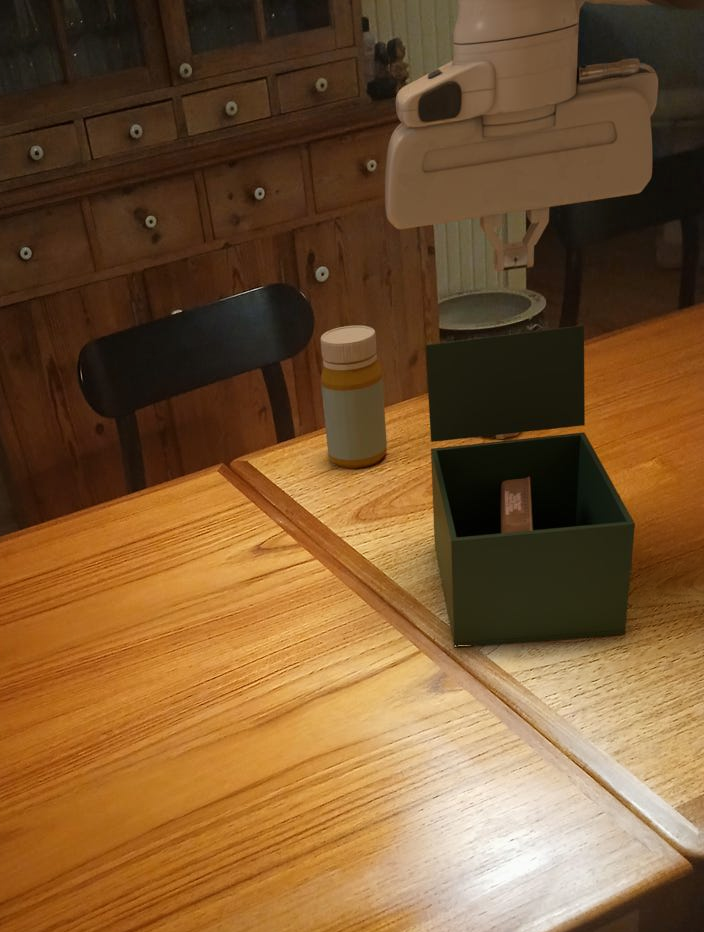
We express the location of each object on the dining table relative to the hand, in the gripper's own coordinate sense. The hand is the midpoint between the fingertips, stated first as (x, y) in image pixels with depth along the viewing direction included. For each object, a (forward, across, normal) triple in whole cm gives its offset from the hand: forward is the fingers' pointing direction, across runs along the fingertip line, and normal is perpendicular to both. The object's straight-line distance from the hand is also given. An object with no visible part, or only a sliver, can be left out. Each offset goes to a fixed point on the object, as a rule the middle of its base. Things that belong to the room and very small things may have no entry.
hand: (513, 267), depth 81 cm
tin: (+26, +1, +7) cm, 27 cm away
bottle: (+27, +14, -25) cm, 39 cm away
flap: (+11, 0, -3) cm, 12 cm away
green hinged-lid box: (+27, 0, +7) cm, 28 cm away
